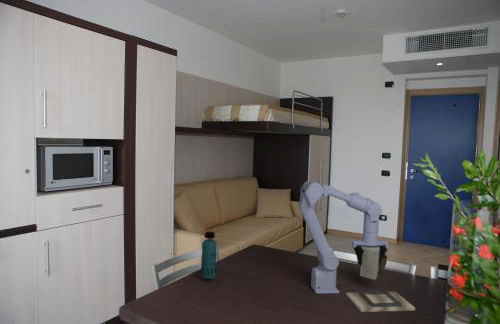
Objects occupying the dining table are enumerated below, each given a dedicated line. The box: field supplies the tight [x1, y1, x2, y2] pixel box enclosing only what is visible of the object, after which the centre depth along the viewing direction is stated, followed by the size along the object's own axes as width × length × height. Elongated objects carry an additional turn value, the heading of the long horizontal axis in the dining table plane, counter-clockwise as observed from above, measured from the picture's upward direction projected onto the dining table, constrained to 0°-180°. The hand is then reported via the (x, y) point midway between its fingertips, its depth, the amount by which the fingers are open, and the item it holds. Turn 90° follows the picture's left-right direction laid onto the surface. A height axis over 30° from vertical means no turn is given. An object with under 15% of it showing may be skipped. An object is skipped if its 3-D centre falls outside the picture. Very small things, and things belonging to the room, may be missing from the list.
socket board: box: [346, 290, 416, 313], centre depth 125 cm, size 20×13×2 cm, turn 96°
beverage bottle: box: [200, 231, 218, 280], centre depth 141 cm, size 6×7×20 cm
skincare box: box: [359, 246, 380, 280], centre depth 135 cm, size 6×4×12 cm
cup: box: [378, 253, 388, 274], centre depth 156 cm, size 8×7×8 cm
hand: (369, 264), depth 135 cm, fingers closed on skincare box, 7 cm apart
